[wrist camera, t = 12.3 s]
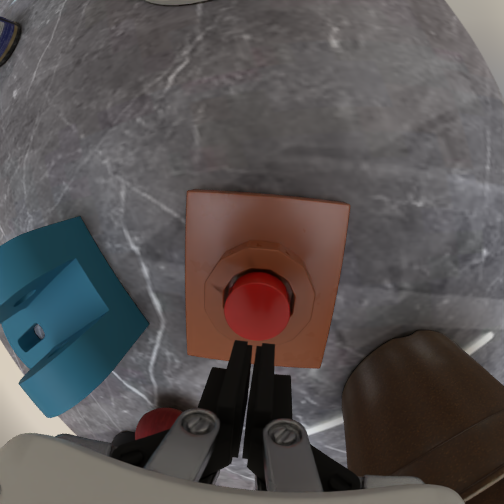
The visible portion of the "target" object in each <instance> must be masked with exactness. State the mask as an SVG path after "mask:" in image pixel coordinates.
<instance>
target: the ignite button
mask: <svg viewBox="0 0 504 504" xmlns="http://www.w3.org/2000/svg"><path fill="white" fill-rule="evenodd" d="M224 315H225V319H226V321H227V323H228V325H229V327H230V328H231V329H232V330H233V331H234V332H235V333H236V334H238V335H239V336H241V337H243V338H245V339H249V340H254V341H263V340H268V339H271V338H273V337H275V336H277V335H278V334H280V333H281V332H282V331H283V330H284V329H285V327H286V326H287V324H288V322H289V319H290V301H289V294H288V291H287V288H286V287H285V285H284V284H283V283H282V282H281V281H280V280H279V279H278V278H277V277H275V276H273V275H271V274H268V273H264V272H252V273H248V274H245V275H243V276H241V277H240V278H239V279H237V280H236V281H235V283H234V284H233V285H232V287H231V289H230V292H229V294H228V297H227V299H226V302H225V305H224Z"/></svg>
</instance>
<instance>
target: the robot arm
mask: <svg viewBox="0 0 504 504" xmlns="http://www.w3.org/2000/svg"><path fill="white" fill-rule="evenodd" d="M145 1H148V2H150V3H155V4H161V5H182V4H192V3H197V2H202V1H207V0H145ZM252 346H253V345H248V341H240V340H235V341H234V345H233V348H232V352H231V355H230V359H229V363H228V366H227V369H223V368H216V367H212V369H211V372H210V374H209V377H208V380H207V383H206V386H205V389H204V391H203V394H202V397H201V400H200V403H199V405H198V408H193V409H189V410H186V411H184V412H183V413H181V414H180V415H179V416H178V418H177V419H176V421H175V422H174V424H173V425H172V427H171V428H170V429H167V430H165V431H162V432H159V433H156V434H153V435H150V436H147V437H144V438H141V439H137V440H134V441H131V442H127V443H124V444H122V445H119V446H113V444H112V443H108V442H103V441H97V440H92V439H88V438H83V437H79V436H74V435H70V434H60V435H57V436H55V437H53V436H49V435H43V434H37V433H25V434H20V435H18V436H16V437H14V438H12V439H11V440H10V441H8V442H7V443H6V444H5V445H4V446H3V447H2V448H1V449H0V504H465V503H464V501H463V499H462V498H461V497H460V496H459V494H458V493H457V492H455V491H454V490H452V489H450V488H448V487H444V486H439V485H431V484H425V483H424V482H423V481H422V480H421V479H419V478H417V477H413V476H380V475H364V477H359V476H357V475H356V474H354V473H353V472H352V471H350V470H349V469H347V468H345V467H344V466H342V465H341V464H339V463H338V462H336V461H334V460H333V459H331V458H330V457H328V456H327V455H325V454H324V453H322V452H321V451H319V450H318V449H316V448H315V447H314V446H312V445H311V444H310V442H309V439H308V435H307V432H306V430H305V428H304V427H303V426H302V425H301V424H300V423H299V422H297V421H295V420H292V395H291V376H290V375H277V374H274V361H275V344H268V343H262V346H257V347H256V354H255V361H254V368H253V375H252V382H251V388H250V395H249V402H248V409H247V418H246V428H245V437H244V447H243V457H242V458H245V459H248V463H247V467H248V468H249V469H250V470H251V471H252V472H253V473H254V474H255V486H256V490H246V489H237V488H229V487H222V486H216V485H215V483H216V480H217V478H218V476H219V473H220V469H222V468H224V467H226V466H228V465H229V464H231V462H232V457H237V458H238V454H239V448H240V442H241V436H242V429H243V423H244V417H245V411H246V404H247V398H248V389H249V379H250V368H251V358H252Z"/></svg>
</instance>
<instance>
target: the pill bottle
mask: <svg viewBox="0 0 504 504" xmlns="http://www.w3.org/2000/svg"><path fill="white" fill-rule="evenodd" d="M19 36H20V26H19V24H18V23H16V22H14V21H11V20H9V19H6V18H3V17H0V66H1V65H2V64H3V63H4V62H5V61H6V60H7V59H8V57H9V56H10V55H11V53H12V51H13V50H14V48H15V46H16V44H17V42H18V39H19Z"/></svg>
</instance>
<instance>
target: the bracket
mask: <svg viewBox="0 0 504 504" xmlns="http://www.w3.org/2000/svg"><path fill="white" fill-rule="evenodd" d="M0 323H1V324H2V327H3V330H4V333H5V335H6V337H7V339H8V341H9V343H10V345H11V347H12V348H13V350H14V352H15V353H16V354H17V356H18V357H19V358H20V359H21V361H22V362H23V363H24V364H25V365H26V366H27V367H28V368H29V369H30V370H29V371H28V372H27V373H26V374H25V376H24V377H23V378H22V379H21V380H20V382H19V385H20V386H21V387H22V389H23V390H24V391H25V392H26V394H27V395H28V396H29V397H30V399H31V400H32V401H33V402H34V403H35V405H36V406H37V407H38V408H39V409H40V410H41V411H42V412H43V414H44V415H45V416H46V417H48V418H52V417H55V416H58V415H60V414H62V413H64V412H66V411H67V410H69V409H71V408H72V407H73V406H75V405H76V404H78V403H79V402H80V401H81V400H83V399H84V398H85V397H86V396H88V395H89V394H90V393H91V392H92V391H93V390H94V389H95V388H96V387H98V386H99V385H100V384H101V383H102V382H103V381H104V380H105V379H106V377H107V376H108V375H109V374H110V373H111V372H112V371H113V370H114V368H115V367H116V366H117V364H118V363H119V362H120V361H121V359H122V358H123V357H124V355H125V354H126V353H127V352H128V350H129V349H130V348H131V347H132V345H133V344H134V343H135V342H136V340H137V339H138V338H139V337H140V335H141V334H142V333H143V332H144V330H145V329H146V328H147V327H148V325H149V323H148V321H147V320H146V319H145V317H144V316H143V315H142V313H141V312H140V311H139V309H138V308H137V306H136V305H135V304H134V302H133V301H132V299H131V298H130V296H129V295H128V293H127V292H126V291H125V289H124V288H123V286H122V285H121V283H120V282H119V280H118V279H117V277H116V276H115V274H114V272H113V271H112V269H111V268H110V266H109V265H108V263H107V261H106V260H105V258H104V257H103V255H102V253H101V252H100V250H99V248H98V247H97V245H96V243H95V242H94V240H93V238H92V236H91V235H90V233H89V231H88V229H87V228H86V226H85V224H84V222H83V221H82V219H81V217H80V216H79V217H75V218H72V219H68V220H65V221H61V222H58V223H55V224H51V225H48V226H45V227H42V228H39V229H36V230H32V231H29V232H27V233H24V234H22V235H19V236H17V237H15V238H13V239H11V240H9V241H8V242H6V243H4V244H3V245H1V246H0ZM37 324H39V325H40V326H41V327H42V329H43V331H44V333H45V338H43V339H39V338H38V337H37V336H36V334H35V332H34V327H35V326H36V325H37Z"/></svg>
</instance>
